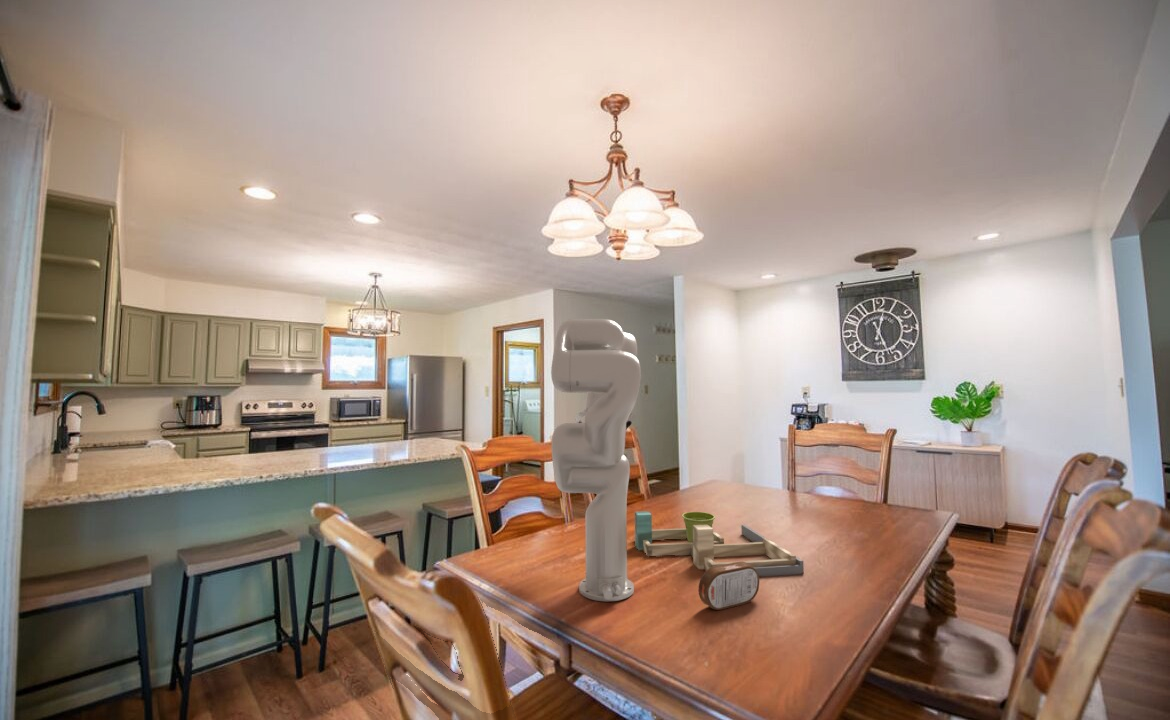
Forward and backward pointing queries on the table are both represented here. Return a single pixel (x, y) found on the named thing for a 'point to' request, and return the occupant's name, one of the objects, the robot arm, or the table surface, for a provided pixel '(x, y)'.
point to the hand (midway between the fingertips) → (604, 444)
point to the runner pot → (662, 537)
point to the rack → (771, 569)
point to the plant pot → (696, 521)
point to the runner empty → (735, 550)
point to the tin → (728, 585)
